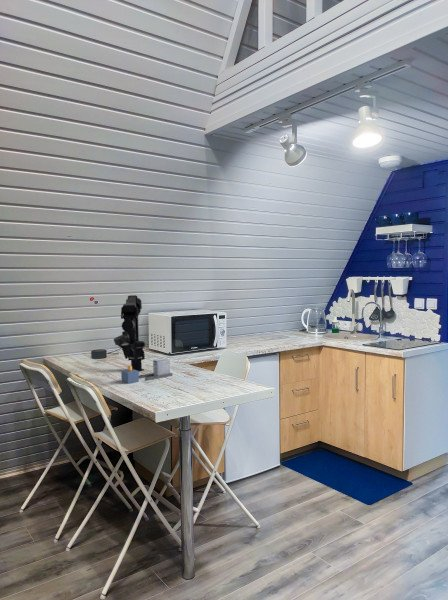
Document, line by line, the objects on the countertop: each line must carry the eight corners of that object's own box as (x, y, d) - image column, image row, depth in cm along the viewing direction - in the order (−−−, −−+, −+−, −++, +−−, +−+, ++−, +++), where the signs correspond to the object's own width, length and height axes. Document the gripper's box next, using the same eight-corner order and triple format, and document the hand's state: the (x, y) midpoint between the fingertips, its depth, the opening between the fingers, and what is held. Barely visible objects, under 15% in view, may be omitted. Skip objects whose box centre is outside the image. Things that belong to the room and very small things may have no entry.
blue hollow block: (121, 381, 229) (121, 370, 229) (132, 379, 233) (131, 368, 233) (128, 383, 224) (127, 372, 224) (138, 381, 228) (138, 370, 228)
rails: (138, 377, 236) (138, 375, 236) (163, 373, 247) (163, 371, 247) (146, 380, 230) (146, 378, 230) (172, 375, 240) (172, 373, 240)
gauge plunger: (126, 374, 229) (126, 366, 228) (130, 373, 230) (130, 365, 230) (129, 374, 227) (128, 367, 227) (132, 374, 228) (132, 366, 228)
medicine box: (165, 373, 245) (165, 358, 245) (170, 375, 242) (169, 359, 241) (153, 376, 240) (152, 360, 240) (157, 377, 237) (157, 361, 236)
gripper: (106, 329, 229) (107, 359, 230) (125, 332, 215) (126, 364, 216) (125, 327, 236) (126, 356, 237) (145, 330, 222) (146, 361, 223)
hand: (130, 359), depth 228 cm, fingers open, 9 cm apart
